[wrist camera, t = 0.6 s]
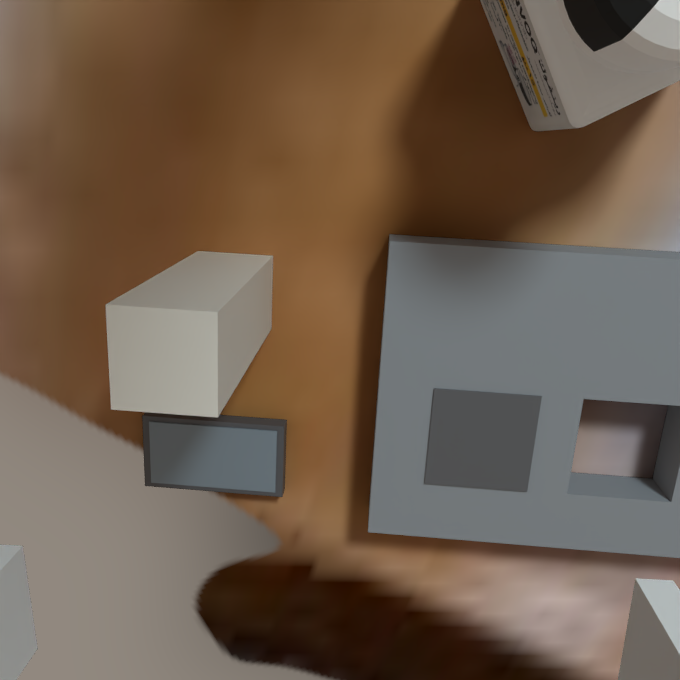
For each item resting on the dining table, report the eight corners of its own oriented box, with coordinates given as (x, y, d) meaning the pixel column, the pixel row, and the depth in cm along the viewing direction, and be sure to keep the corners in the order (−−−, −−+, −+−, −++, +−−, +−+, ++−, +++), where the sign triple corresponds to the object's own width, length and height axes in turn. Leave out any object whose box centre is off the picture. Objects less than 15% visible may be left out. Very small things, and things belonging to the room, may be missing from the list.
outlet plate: (389, 234, 33) (389, 241, 31) (789, 258, 32) (822, 268, 30) (368, 508, 38) (367, 533, 36) (717, 536, 37) (741, 564, 35)
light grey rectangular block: (198, 251, 34) (105, 304, 23) (273, 255, 34) (217, 312, 23) (198, 323, 36) (111, 409, 24) (271, 328, 35) (217, 417, 24)
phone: (147, 409, 37) (141, 416, 36) (286, 419, 37) (284, 427, 36) (150, 478, 38) (144, 486, 37) (284, 488, 38) (282, 497, 37)
